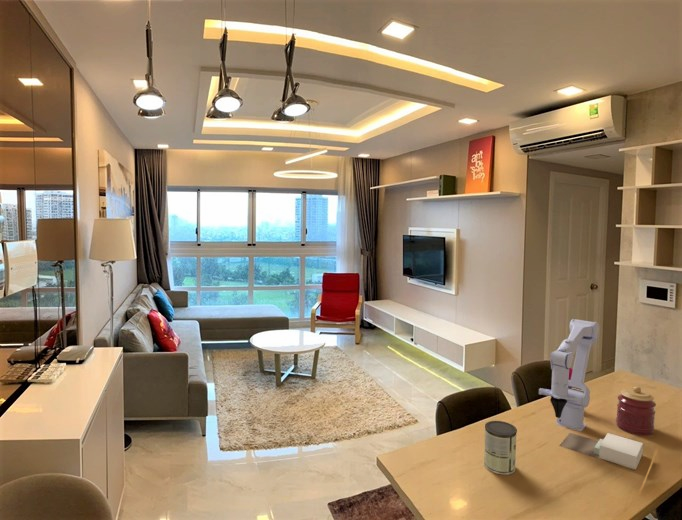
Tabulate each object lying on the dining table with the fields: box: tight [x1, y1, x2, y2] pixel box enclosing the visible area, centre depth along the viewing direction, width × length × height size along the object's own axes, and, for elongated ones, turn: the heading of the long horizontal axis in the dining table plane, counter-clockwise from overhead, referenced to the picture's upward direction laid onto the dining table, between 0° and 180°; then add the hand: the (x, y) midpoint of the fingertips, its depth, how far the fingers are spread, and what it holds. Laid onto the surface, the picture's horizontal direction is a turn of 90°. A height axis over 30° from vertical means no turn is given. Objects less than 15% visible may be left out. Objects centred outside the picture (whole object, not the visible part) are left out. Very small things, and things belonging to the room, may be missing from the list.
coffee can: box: [483, 420, 518, 476], centre depth 150 cm, size 10×10×14 cm
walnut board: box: [558, 432, 643, 472], centre depth 160 cm, size 24×14×1 cm, turn 47°
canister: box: [615, 385, 657, 436], centre depth 177 cm, size 13×13×18 cm
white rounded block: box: [599, 432, 644, 471], centre depth 156 cm, size 11×12×5 cm
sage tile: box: [594, 438, 604, 455], centre depth 157 cm, size 11×9×2 cm
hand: (558, 416), depth 168 cm, fingers closed
